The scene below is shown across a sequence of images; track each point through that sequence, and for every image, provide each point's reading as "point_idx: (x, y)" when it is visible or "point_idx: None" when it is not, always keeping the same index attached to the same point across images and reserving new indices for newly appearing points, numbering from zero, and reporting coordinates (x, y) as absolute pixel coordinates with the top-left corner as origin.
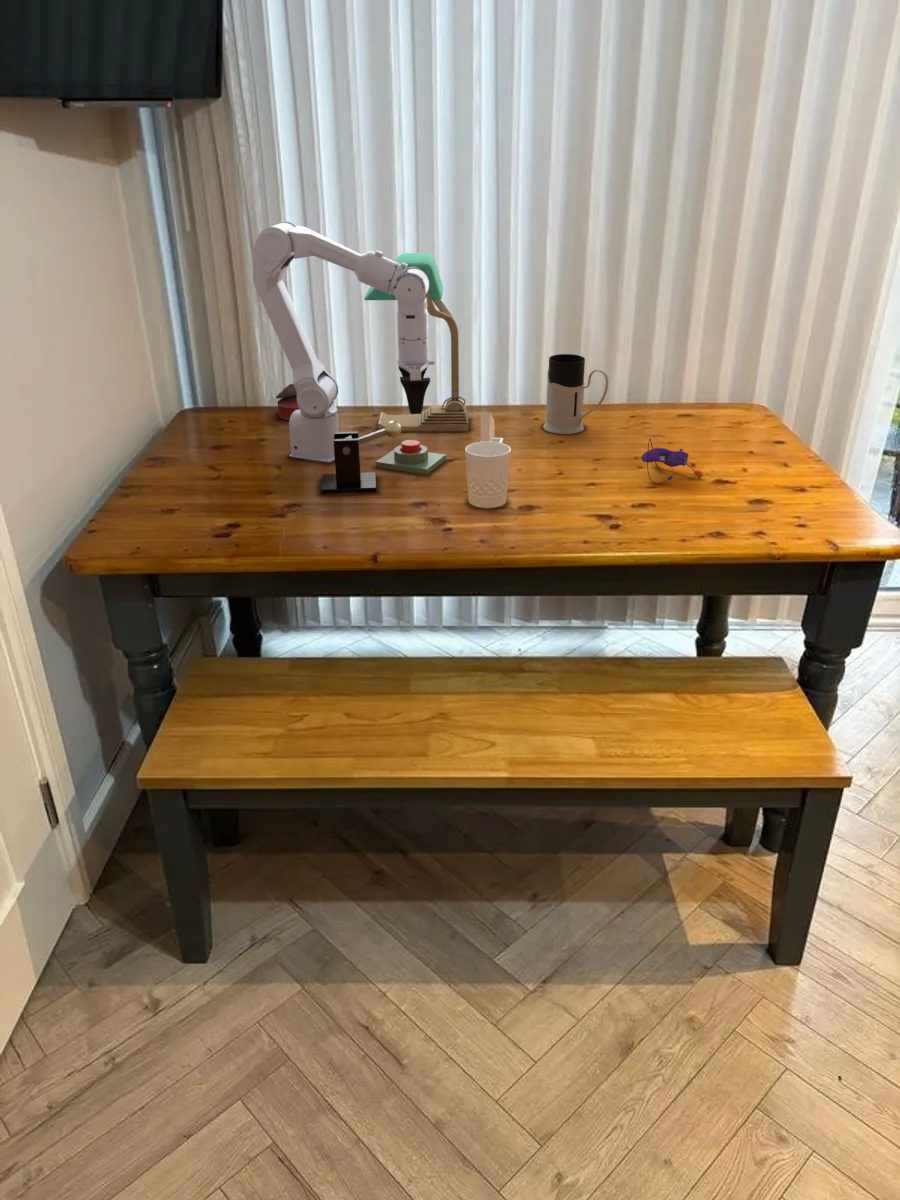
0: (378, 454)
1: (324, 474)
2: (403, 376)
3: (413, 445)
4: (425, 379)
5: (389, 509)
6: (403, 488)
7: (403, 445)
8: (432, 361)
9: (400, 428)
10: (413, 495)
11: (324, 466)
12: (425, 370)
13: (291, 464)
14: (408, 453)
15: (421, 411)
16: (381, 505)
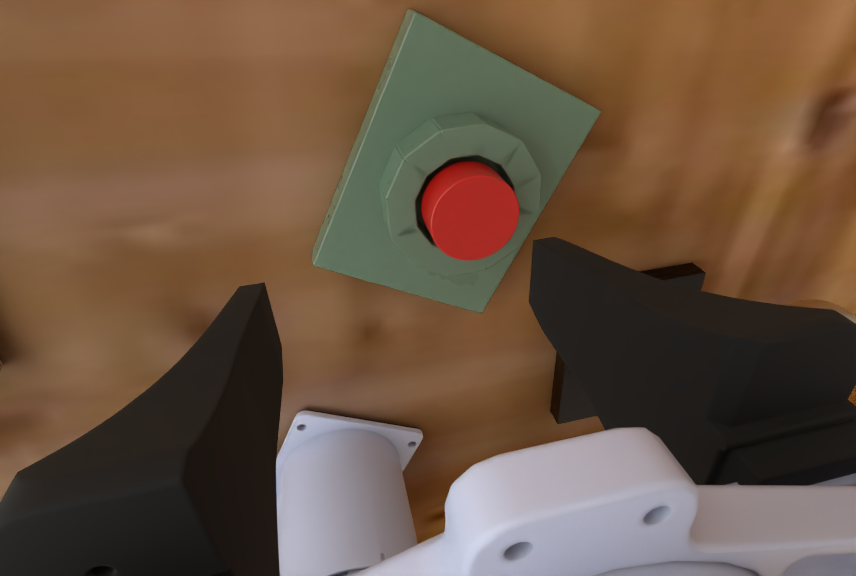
0: (319, 315)
1: (562, 419)
2: (274, 549)
3: (517, 203)
4: (812, 374)
5: (816, 209)
6: (676, 184)
7: (501, 247)
8: (698, 503)
9: (847, 312)
10: (747, 144)
11: (439, 433)
12: (200, 441)
13: (417, 501)
14: (521, 211)
15: (564, 241)
16: (779, 235)
